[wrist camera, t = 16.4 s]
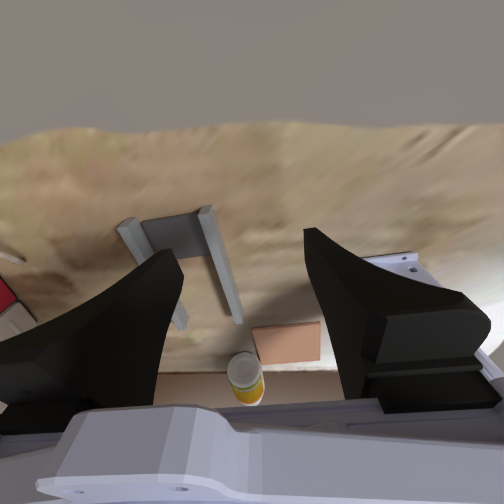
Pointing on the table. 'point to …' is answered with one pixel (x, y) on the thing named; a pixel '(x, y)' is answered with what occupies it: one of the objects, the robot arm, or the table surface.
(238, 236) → the table surface
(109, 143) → the table surface
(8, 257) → the dna model
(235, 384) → the supplement bottle
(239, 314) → the channel
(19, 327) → the black upright block
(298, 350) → the tile
